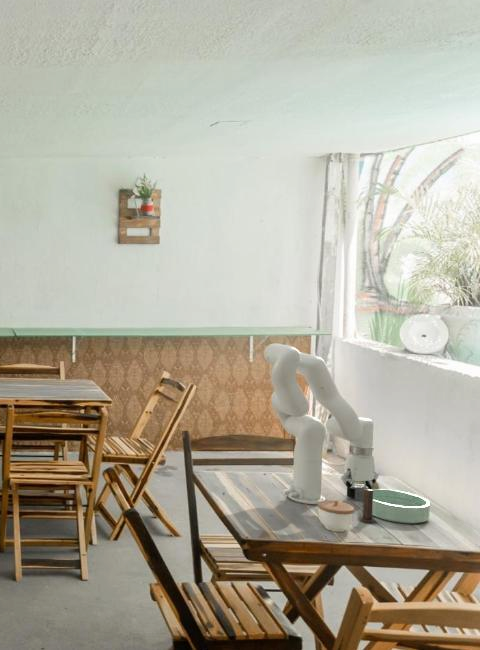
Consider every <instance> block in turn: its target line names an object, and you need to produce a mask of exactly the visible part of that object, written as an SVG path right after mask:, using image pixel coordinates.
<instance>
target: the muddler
mask: <svg viewBox="0 0 480 650" xmlns="http://www.w3.org/2000/svg"><path fill="white" fill-rule="evenodd" d="M372 505H373V490H371V489H364V496H363V501H362V515H361V516H359V521H360V522H362V523H365V524H374V523H376V522H375V521H376V519H375V518H374V517H373V515H372Z"/></svg>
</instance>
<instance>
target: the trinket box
mask: <svg viewBox="0 0 480 650" xmlns="http://www.w3.org/2000/svg"><path fill="white" fill-rule="evenodd" d="M354 513H355V508H354V506H353V505H351V504H350V503H346V502H343V501H338V500H337V499H334V500H331V499H327V500H326V499H325V500H323V501H319V502H318V504H317V516H318V519H319V521H320V522H321V524H322V525H323V526H324V528H325V529H327V530H328V531H331V532H339V533H341V532H345V531H346V530H347V529H349V528H350V526H351V525H352V524H353V521H354Z"/></svg>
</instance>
